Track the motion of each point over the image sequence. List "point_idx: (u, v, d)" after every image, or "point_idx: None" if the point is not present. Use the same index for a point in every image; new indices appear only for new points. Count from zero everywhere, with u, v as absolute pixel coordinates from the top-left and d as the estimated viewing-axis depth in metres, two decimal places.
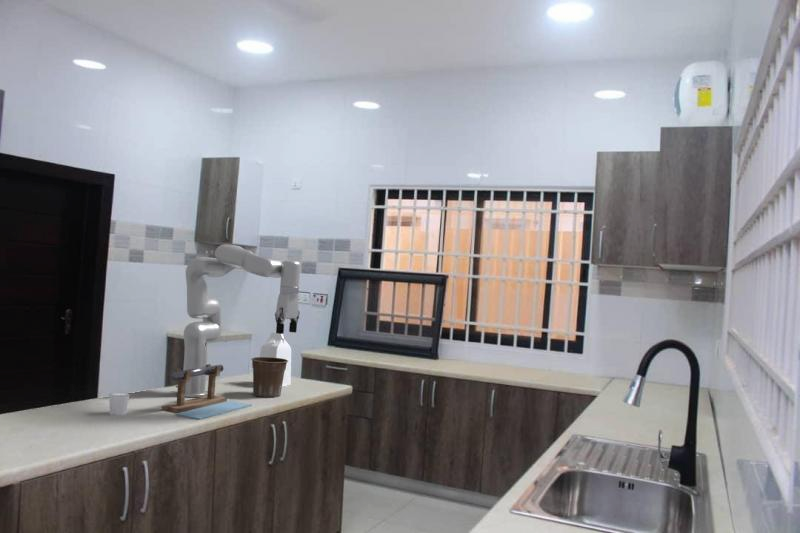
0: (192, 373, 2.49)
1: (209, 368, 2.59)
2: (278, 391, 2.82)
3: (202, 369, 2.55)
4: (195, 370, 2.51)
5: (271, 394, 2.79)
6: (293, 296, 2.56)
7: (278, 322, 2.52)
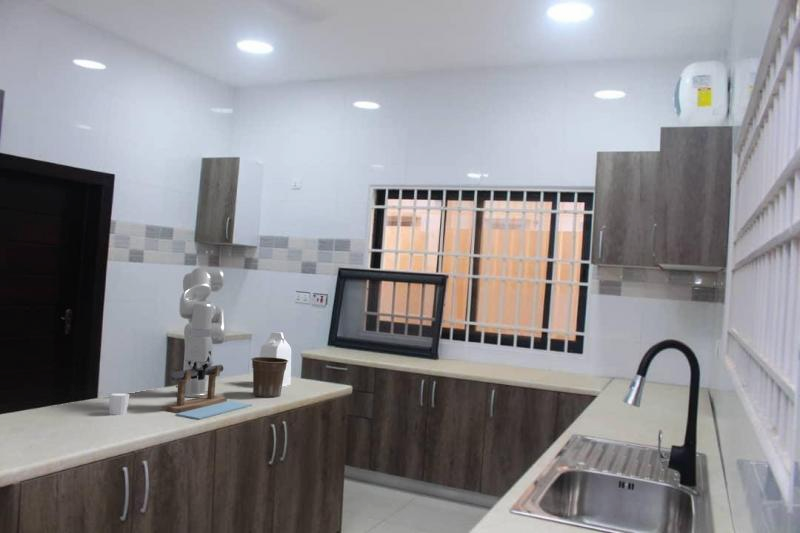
0: (192, 373, 2.49)
1: (209, 368, 2.59)
2: (278, 391, 2.82)
3: None
4: (195, 370, 2.51)
5: (271, 394, 2.79)
6: None
7: (204, 369, 2.53)
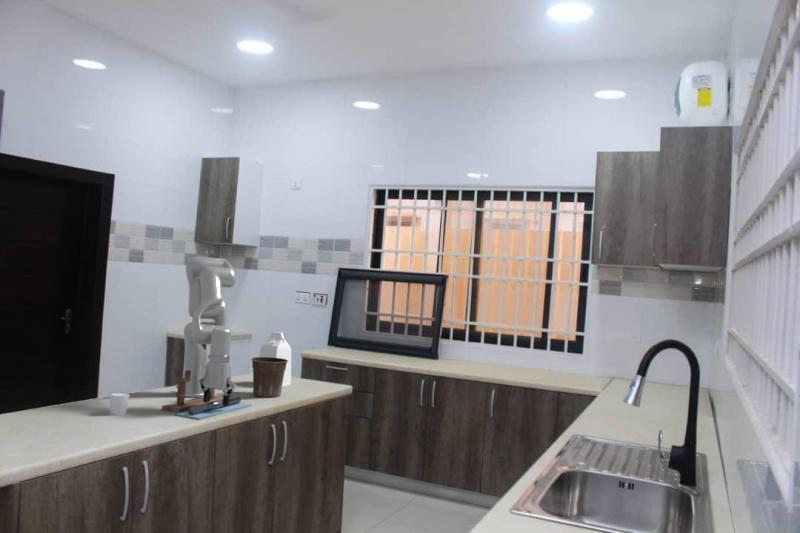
0: (210, 407, 2.42)
1: None
2: (278, 391, 2.82)
3: (220, 402, 2.48)
4: (213, 403, 2.45)
5: (271, 394, 2.79)
6: None
7: (229, 394, 2.45)
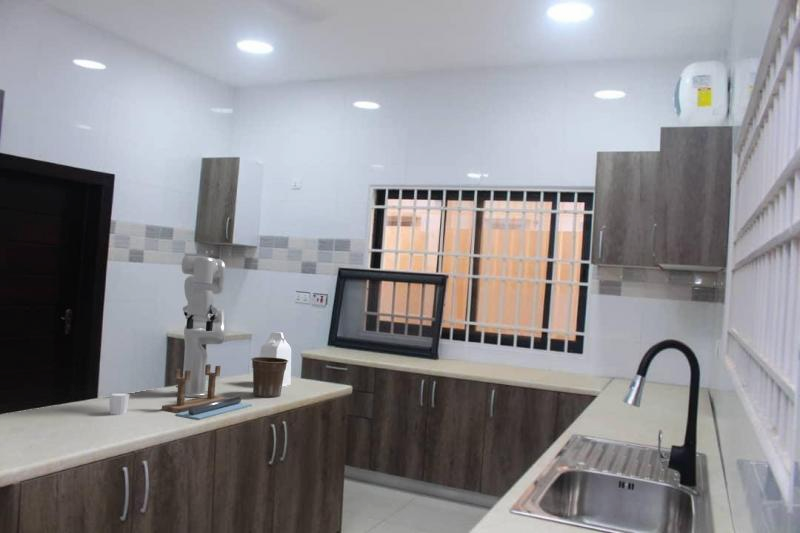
0: (210, 407, 2.42)
1: (227, 400, 2.52)
2: (278, 391, 2.82)
3: (220, 402, 2.48)
4: (213, 404, 2.44)
5: (271, 394, 2.79)
6: None
7: (212, 320, 2.52)
